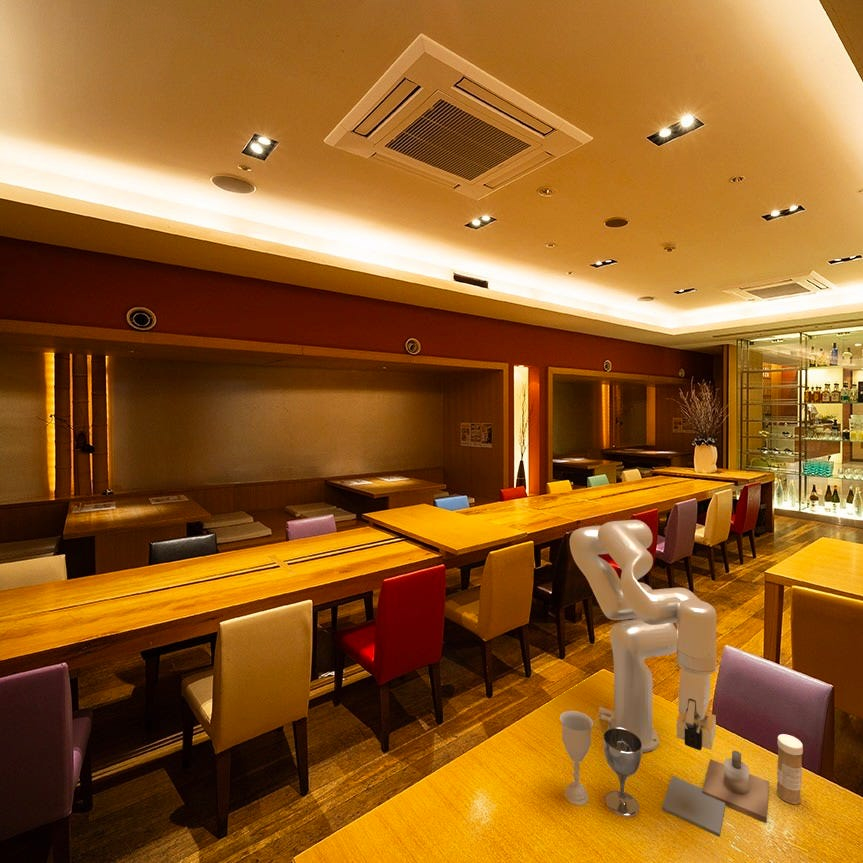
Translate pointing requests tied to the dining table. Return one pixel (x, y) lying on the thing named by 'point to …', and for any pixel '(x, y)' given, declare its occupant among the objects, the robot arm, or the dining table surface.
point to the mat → (694, 805)
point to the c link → (706, 727)
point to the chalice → (576, 750)
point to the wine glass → (622, 767)
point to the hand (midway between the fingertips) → (695, 736)
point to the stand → (737, 787)
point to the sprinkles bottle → (789, 768)
